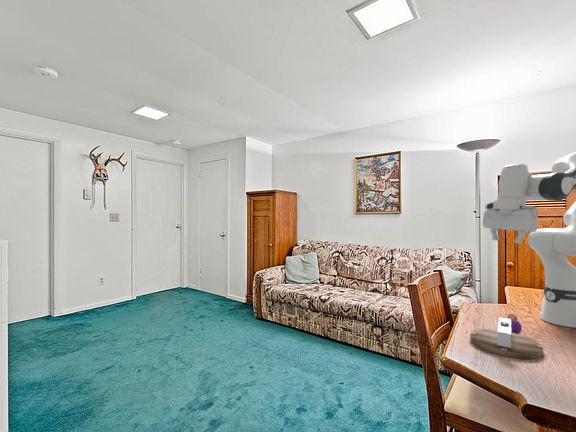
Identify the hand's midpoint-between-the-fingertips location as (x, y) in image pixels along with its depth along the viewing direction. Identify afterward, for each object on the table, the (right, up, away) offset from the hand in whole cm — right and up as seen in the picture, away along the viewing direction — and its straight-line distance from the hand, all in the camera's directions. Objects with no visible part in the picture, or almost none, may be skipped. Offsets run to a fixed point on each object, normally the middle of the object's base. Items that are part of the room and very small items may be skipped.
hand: (506, 241), depth 116 cm
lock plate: (-10, -35, -13) cm, 38 cm away
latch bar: (-10, -32, -13) cm, 36 cm away
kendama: (+5, -35, +3) cm, 35 cm away
